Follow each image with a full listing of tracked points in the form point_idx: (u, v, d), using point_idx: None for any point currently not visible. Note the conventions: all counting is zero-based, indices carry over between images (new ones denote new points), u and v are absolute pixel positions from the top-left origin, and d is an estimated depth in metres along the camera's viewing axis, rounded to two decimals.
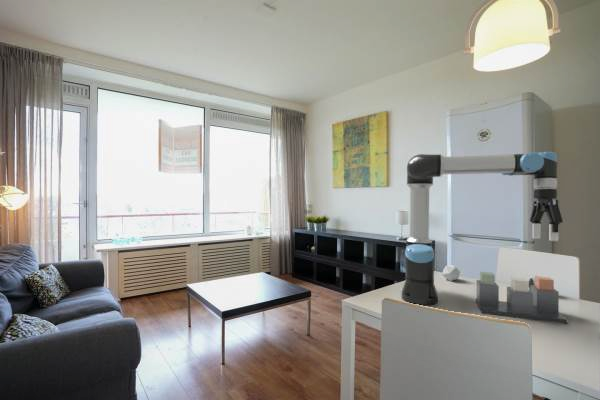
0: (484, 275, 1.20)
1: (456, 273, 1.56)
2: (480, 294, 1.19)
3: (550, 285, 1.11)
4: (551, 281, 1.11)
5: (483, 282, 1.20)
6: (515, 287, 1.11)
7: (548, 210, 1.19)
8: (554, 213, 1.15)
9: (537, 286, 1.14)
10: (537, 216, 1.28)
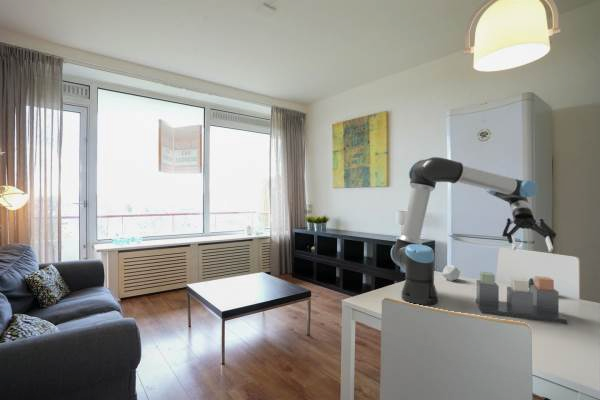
0: (484, 275, 1.20)
1: (456, 273, 1.56)
2: (480, 294, 1.19)
3: (550, 285, 1.11)
4: (551, 281, 1.11)
5: (483, 282, 1.20)
6: (515, 287, 1.11)
7: None
8: None
9: (537, 286, 1.14)
10: (515, 230, 1.34)
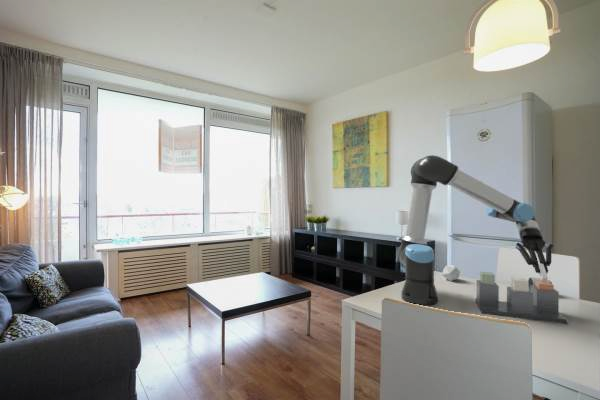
0: (484, 275, 1.20)
1: (456, 273, 1.56)
2: (480, 294, 1.19)
3: (550, 290, 1.11)
4: (551, 286, 1.11)
5: (483, 282, 1.20)
6: (515, 287, 1.11)
7: None
8: None
9: None
10: None
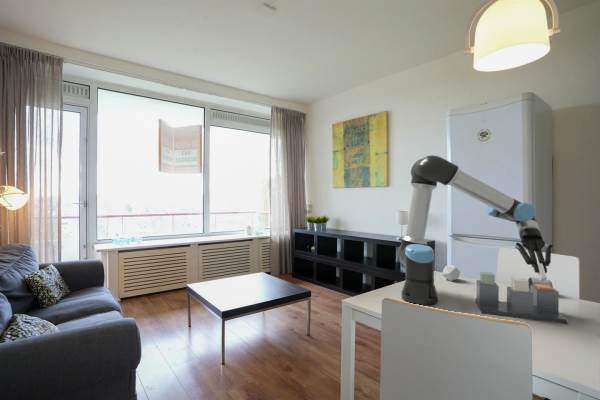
0: (484, 275, 1.20)
1: (456, 273, 1.56)
2: (480, 294, 1.19)
3: None
4: (551, 289, 1.11)
5: (483, 282, 1.20)
6: (515, 287, 1.11)
7: None
8: None
9: None
10: None
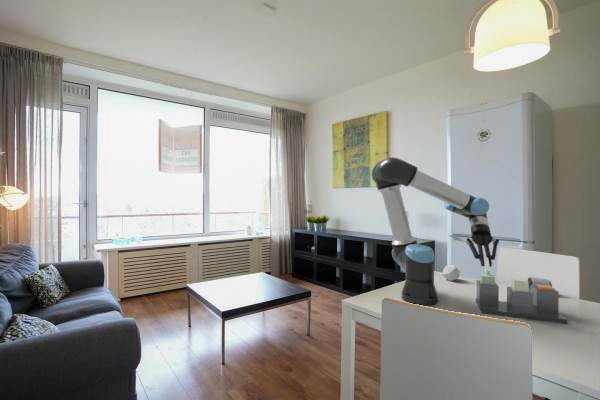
0: (484, 277, 1.20)
1: (456, 273, 1.56)
2: (480, 294, 1.19)
3: None
4: (551, 289, 1.11)
5: None
6: (515, 287, 1.11)
7: None
8: None
9: None
10: None
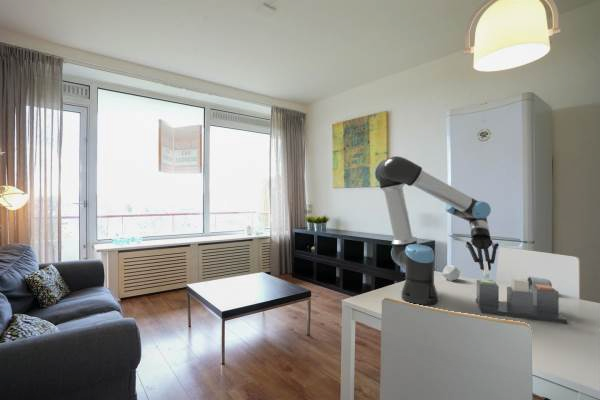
0: (484, 283, 1.20)
1: (456, 273, 1.56)
2: (480, 294, 1.19)
3: None
4: (551, 289, 1.11)
5: None
6: (515, 287, 1.11)
7: (487, 249, 1.29)
8: (495, 254, 1.27)
9: None
10: None
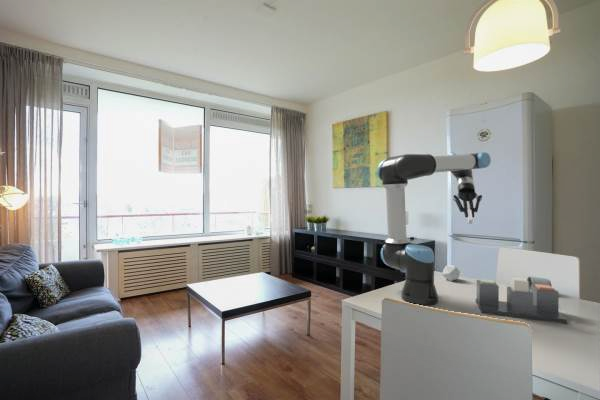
0: (484, 283, 1.20)
1: (456, 273, 1.56)
2: (480, 294, 1.19)
3: None
4: (551, 289, 1.11)
5: None
6: (515, 287, 1.11)
7: None
8: (478, 204, 1.42)
9: None
10: (466, 204, 1.44)
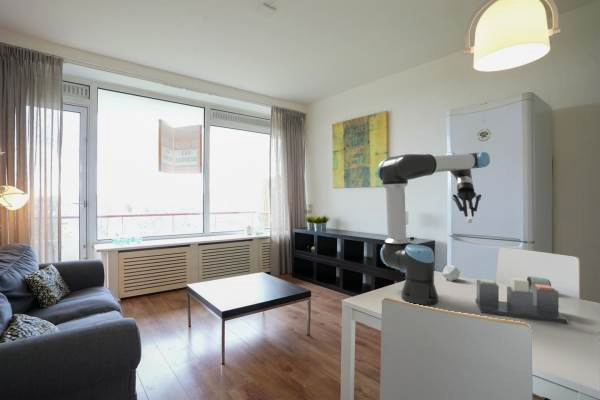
0: (484, 283, 1.20)
1: (456, 273, 1.56)
2: (480, 294, 1.19)
3: None
4: (551, 289, 1.11)
5: None
6: (515, 287, 1.11)
7: (471, 200, 1.45)
8: None
9: None
10: None
